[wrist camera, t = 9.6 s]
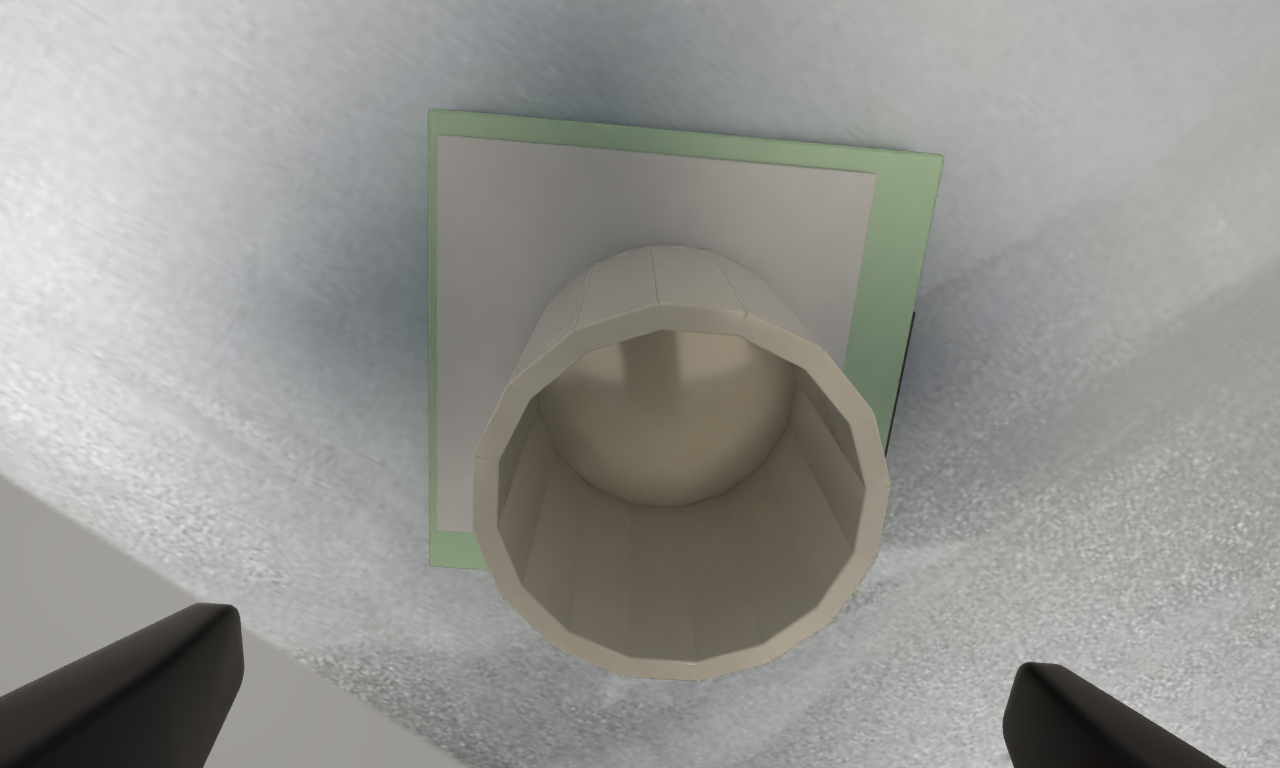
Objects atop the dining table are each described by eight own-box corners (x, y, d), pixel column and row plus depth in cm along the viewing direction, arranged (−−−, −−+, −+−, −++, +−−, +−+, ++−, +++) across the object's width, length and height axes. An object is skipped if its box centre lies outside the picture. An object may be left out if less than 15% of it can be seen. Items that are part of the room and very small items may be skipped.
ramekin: (784, 519, 19) (850, 692, 13) (520, 500, 18) (468, 668, 13) (826, 256, 17) (927, 324, 11) (530, 231, 16) (474, 287, 11)
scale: (842, 556, 22) (867, 607, 19) (446, 528, 21) (423, 576, 19) (920, 152, 18) (961, 155, 16) (449, 109, 18) (421, 107, 16)
